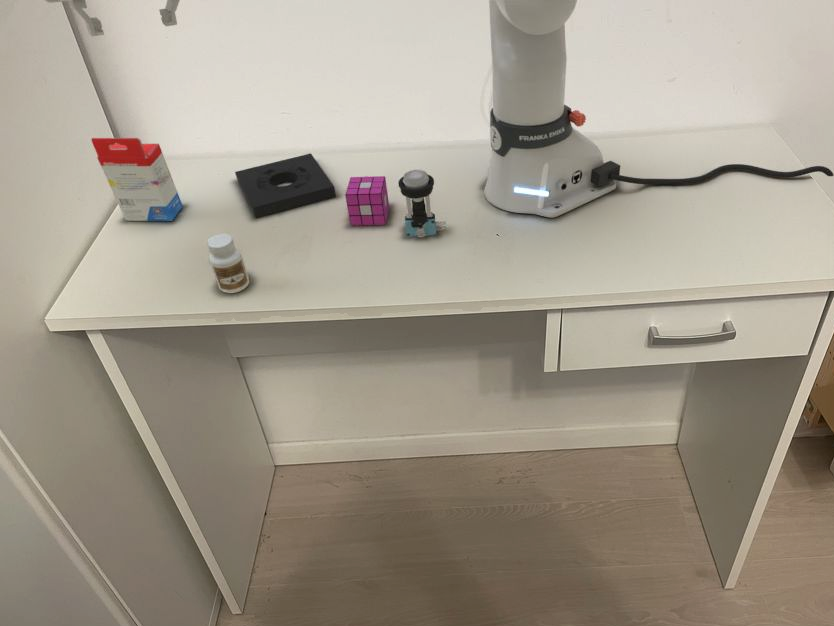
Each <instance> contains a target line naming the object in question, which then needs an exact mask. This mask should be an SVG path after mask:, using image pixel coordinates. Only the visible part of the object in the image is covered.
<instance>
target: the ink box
mask: <svg viewBox="0 0 834 626" xmlns="http://www.w3.org/2000/svg"><path fill="white" fill-rule="evenodd" d="M90 141H91V143H92V145H93V148H94V151H95V152H96V156H97V158H96V159H97V161H98V164H99V165H100V167H101V169H102V172H103V174H104V175H105V177H106V180H107V182H108V184H109V187H110V189H111V191H112V194H113V196H114V198H115V200H116V202H117V204H118V207H119V209H120V211H121V213H122V216H123V218H124V220H125V221H127V222H128V221H129V222H131V221H132V222H135V221H136V222H173V221H174V219H175V218H176V217H177V215H178V214H179V212H180V211H181V209H182V208H183V203H182V200H181V198H180V195H179V192H178V190H177V187H176V185H175V182H174V179H173V177H172V174H171V172H170V169H169V167H168V163H167V160H166V159H165V156H164V153H163V151H162V148H161V146H160V143H142V140H141V139H140V138H138V137H92V138H91V140H90Z"/></svg>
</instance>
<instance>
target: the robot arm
mask: <svg viewBox="0 0 834 626" xmlns="http://www.w3.org/2000/svg"><path fill="white" fill-rule="evenodd" d="M44 1H45V2H47V3H49V4H52V3H60V2H68V1H69V4H70V6H71V7H72V8H73V9H74V11H76V12H77V14H78V15H79V16H80V17H81V18H82V19H83V20H84V22H85V26H86V29H87V32H88V34H89V36H91V37H99V36H104V35H105V32H104V30H103V25H102V21H101V20H100V19H99V18H98V17H96V16H95V17H90V15H89V14H88V13H87V12H86V11H85V10H84V9H87V8H88V6H87V2H86V0H44ZM488 1H489V2H488V4H489V5H488V6H489V26H490V27H489V29H490V51H491V76H492V77H491V79H492V81H491V83H492V84H491V85H492V86H491V87H492V107H491V110H490V111H489V113H490V115H489V118H490V119H489V138H490V147H491V155H490V156H491V157H490V164H489V171H488V176H487V180H486V183H485V187H484V191H483V192H484V197H485V199H486V200H487V201H488V203H490V204H491V205H493V206H494V207H496V208H498V209H500V210H504V211H506V212H511V213H517V214H529V215H531V214H532V215H538V216H541V217H545V218H552V219H553V218H557V217H559V216H561V215H563V214H565V213H568V212H570V211H573V210H575V209H576V208H578V207H581V206H583V205H585V204H587V203H588V202H591V201H593V200H596V199H598V198H599V197H602V196H604V195H606V194H608V193H610V192H612V191H614V190H616V189H617V181H618V182H624V183H628V184H637V185H659V186H660V185H664V186H665V185H666V186H671V185H672V186H677V185H679V186H680V185H690V184H691V185H692V184H698V183H702V182H705V181H707V180H710V179H711V178H713V177H715V176H716V175H718V174H720V173H724V172H727V171H747V172H752V173H756V174H760V175H765V176H768V177H774V178H782V179H783V178H785V179H787V178H788V179H790V178H794V177H795V178H796V177H801V176H805V175H808V174H812V173H817V172H819V173H822V174H824V175H825V176H826V177H834V173H833V171H832V170H831V169H830V168H829V167H826V166H823V165H813V166H809V167H805V168H802V169H797V170H792V171H778V170H773V169H768V168H764V167H760V166H755V165H749V164H741V163H732V164H731V163H730V164H725V165H721V166H719V167H717V168H714V169H713V170H711V171H708V172H707V173H705V174H702V175H699V176H694V177H685V178H641V177H640V178H639V177H633V176H628V175H627V176H626V175H621V174H620V173H621V164H618V163H616V162H614V161H613V160H609V161H606V162H604V157H603V154H602V151H601V149H600V147H598V145H597V144H596V143H595V142H594V141H593V140H591V139H590V138H589V137H587V136H586V135H585V134H583V133H582V132H580V131H579V130H577V129H576V128H574V127H573V126H572V125H573V124H574V125H575V126H576V127H582V126H583V125H584V124H585V123H586V120H587V116H586V115H585V114H584V113H582V112H581V111H579V110H577V109H575V110H573V111H572V108H571V107H570V106H568V105H566V104H565V97H566V80H567V79H566V76H567V62H568V61H567V60H568V56H567V46H566V23H567V22H568V20H569V19H570V18H571V16H572V14H573V13H574V11H575V8H576V5H577V1H578V0H488ZM179 3H180V0H166V3H165V7H164V8H160V9H158V11H159V14H160V16H161V18H160V19H161V22H162V25H164V26H165V27H173V26H177V25H178V21H177V16H176V12H177V9H178V6H179Z"/></svg>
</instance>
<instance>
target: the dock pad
mask: <svg viewBox="0 0 834 626" xmlns="http://www.w3.org/2000/svg"><path fill="white" fill-rule="evenodd" d="M234 172H235V173H234V174H235V177H236V181H237V183H238V185H239V187H240V190H241V191H242V193H243V195H244V197H245V200H246V201H247V203H248V206H249V208H250V210H251V212H252V213H253V216H254V218H255V219H258V218H261V217H265V216H269V215H272V214H276V213H280V212H284V211H287V210H291V209H295V208H298V207H302V206H306V205H309V204H314V203H317V202H321V201H325V200H328V199H332V198H336V197H337V193H336V189H335V185H334V184H333V183H332V181H331V180H330V178H329V177H328V175H327V174H326V173H325V172H324V169H323V168H322V167H321V165H320V164H319V163H318V161H317V160H316V158H315V157H314V156H313V155H312V153H306V154H302V155H298V156H295V157H290V158H286V159H281V160H278V161H273V162H270V163H266V164H262V165H257V166H253V167H250V168H245V169H242V170H236V171H234ZM284 183H290V184H286V185H280V184H284Z"/></svg>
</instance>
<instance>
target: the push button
mask: <svg viewBox="0 0 834 626" xmlns="http://www.w3.org/2000/svg"><path fill="white" fill-rule="evenodd" d="M397 182H398V183H397V184H398V187H399V189H400V193H401V195H402V196H404V197H405V202H406V203H405V204H406V209H407V213H406V214H405V216H404V228H405V235H406V237H407V238H409V237H418V238H424V237H425V236H435V235H437V232H438V231H442V230H444V231H445V230H447V226H446V225H447V221H438V220H437V221H436V215H435V213H434V212H432V211H431V210H432V209H431V198H430V195H431V194H432V192H433V190H434V185H435V179H434V177H433V176H432V175H431V174H429V173H427V171H426V170H422V169H411V170H408V171H406V172H405V173H404V174H403V176H402V177H400V179H398V181H397ZM444 225H445V226H444Z"/></svg>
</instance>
